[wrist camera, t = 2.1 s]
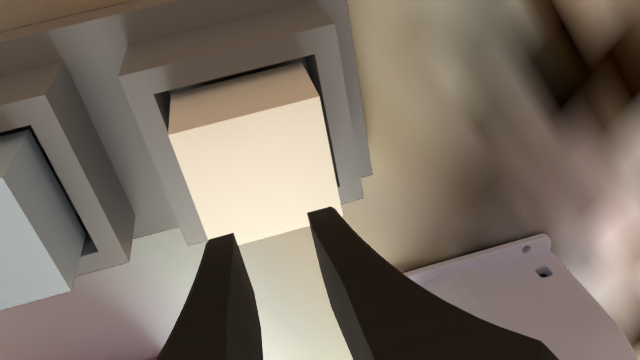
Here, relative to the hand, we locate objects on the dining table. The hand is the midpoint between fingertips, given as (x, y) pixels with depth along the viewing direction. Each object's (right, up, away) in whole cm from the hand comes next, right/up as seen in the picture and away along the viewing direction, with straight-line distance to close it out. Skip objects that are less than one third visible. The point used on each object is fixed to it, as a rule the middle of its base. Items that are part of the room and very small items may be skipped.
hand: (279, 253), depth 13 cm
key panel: (-6, +4, +8) cm, 11 cm away
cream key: (-1, +3, +5) cm, 7 cm away
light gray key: (-10, +1, +5) cm, 11 cm away
